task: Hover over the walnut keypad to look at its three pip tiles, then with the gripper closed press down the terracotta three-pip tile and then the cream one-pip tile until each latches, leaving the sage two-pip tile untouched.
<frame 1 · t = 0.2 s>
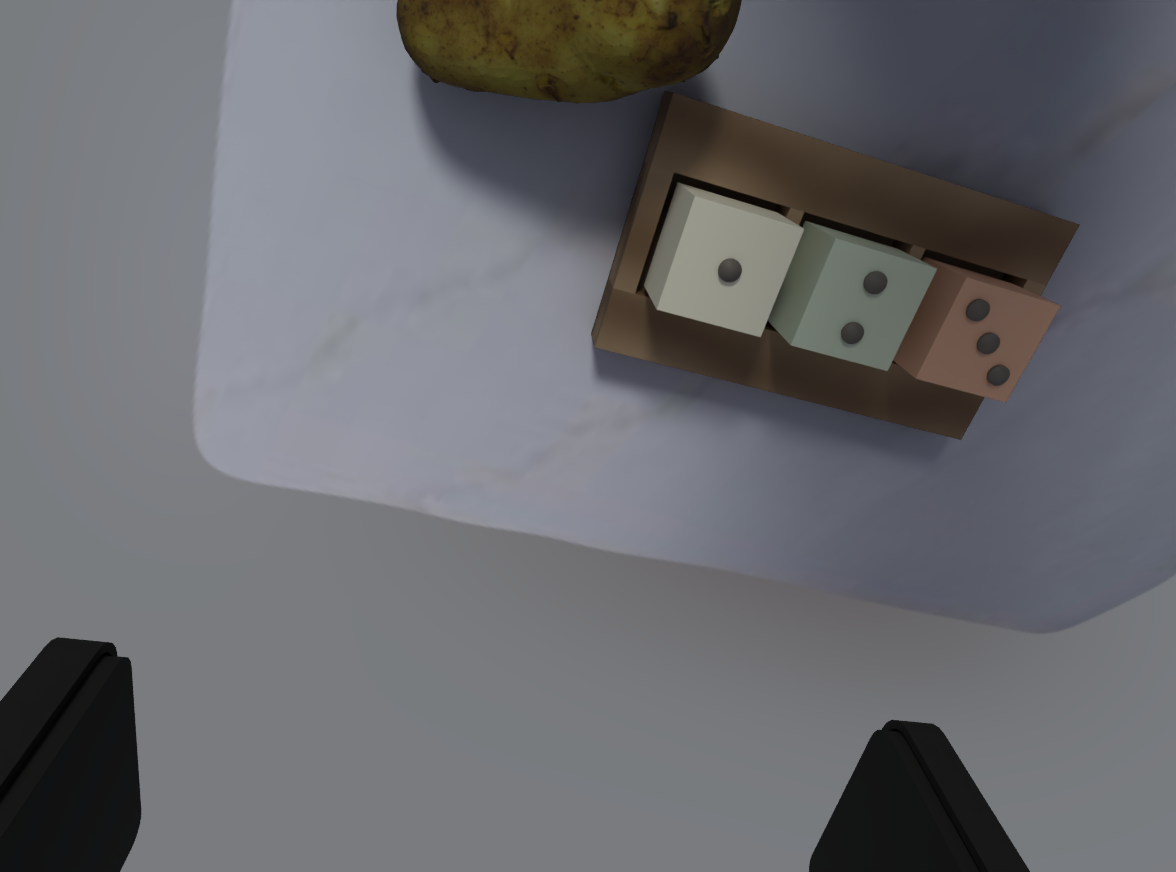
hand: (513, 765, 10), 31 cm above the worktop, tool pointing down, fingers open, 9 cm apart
one-pip tile: (719, 259, 35), point 4 cm above the worktop, slide at 0.0 cm
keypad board: (818, 275, 39), on the worktop
potato: (560, 4, 33), on the worktop
three-pip tile: (965, 329, 37), point 4 cm above the worktop, slide at 0.0 cm
two-pip tile: (846, 295, 36), point 4 cm above the worktop, slide at 0.0 cm
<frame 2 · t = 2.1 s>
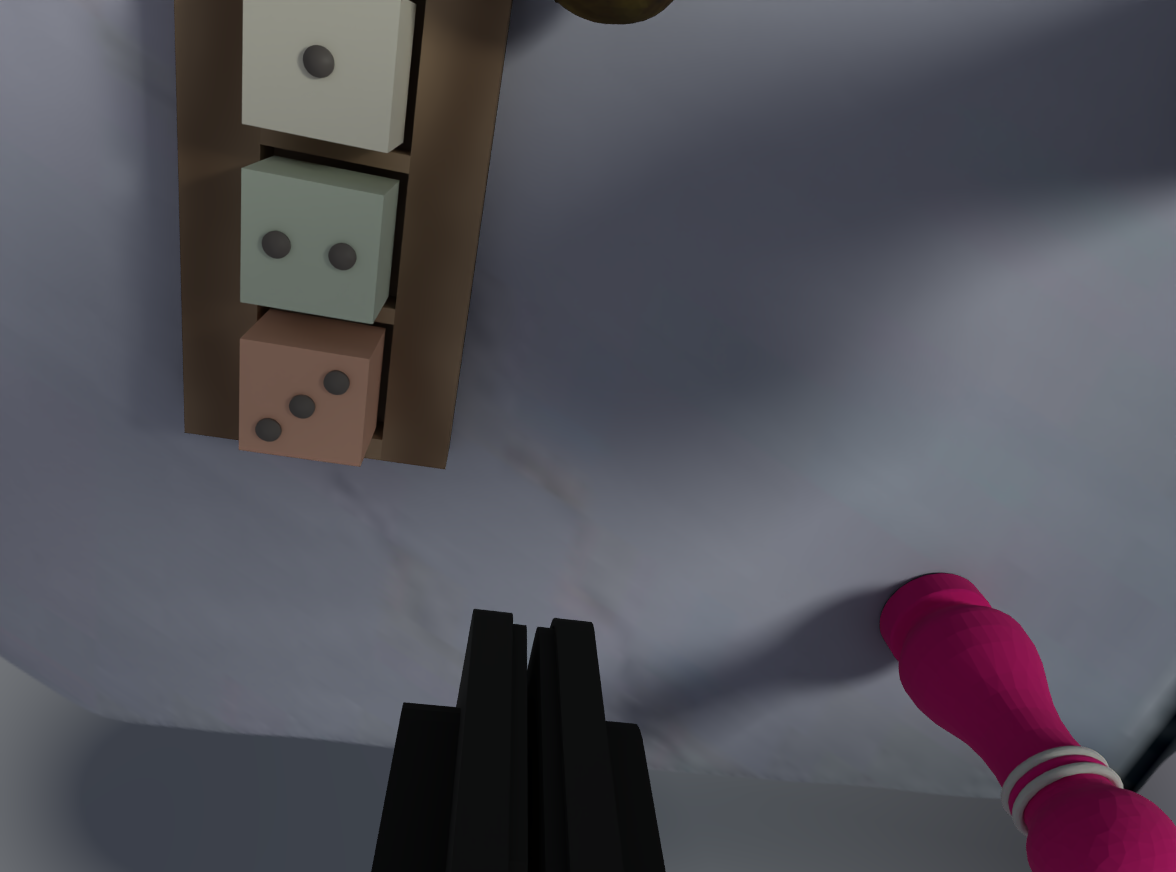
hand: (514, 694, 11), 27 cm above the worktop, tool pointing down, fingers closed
one-pip tile: (332, 61, 28), point 4 cm above the worktop, slide at 0.0 cm
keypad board: (342, 221, 34), on the worktop
three-pip tile: (314, 387, 33), point 4 cm above the worktop, slide at 0.0 cm
pepper mill: (927, 611, 47), on the worktop
two-pip tile: (322, 239, 30), point 4 cm above the worktop, slide at 0.0 cm
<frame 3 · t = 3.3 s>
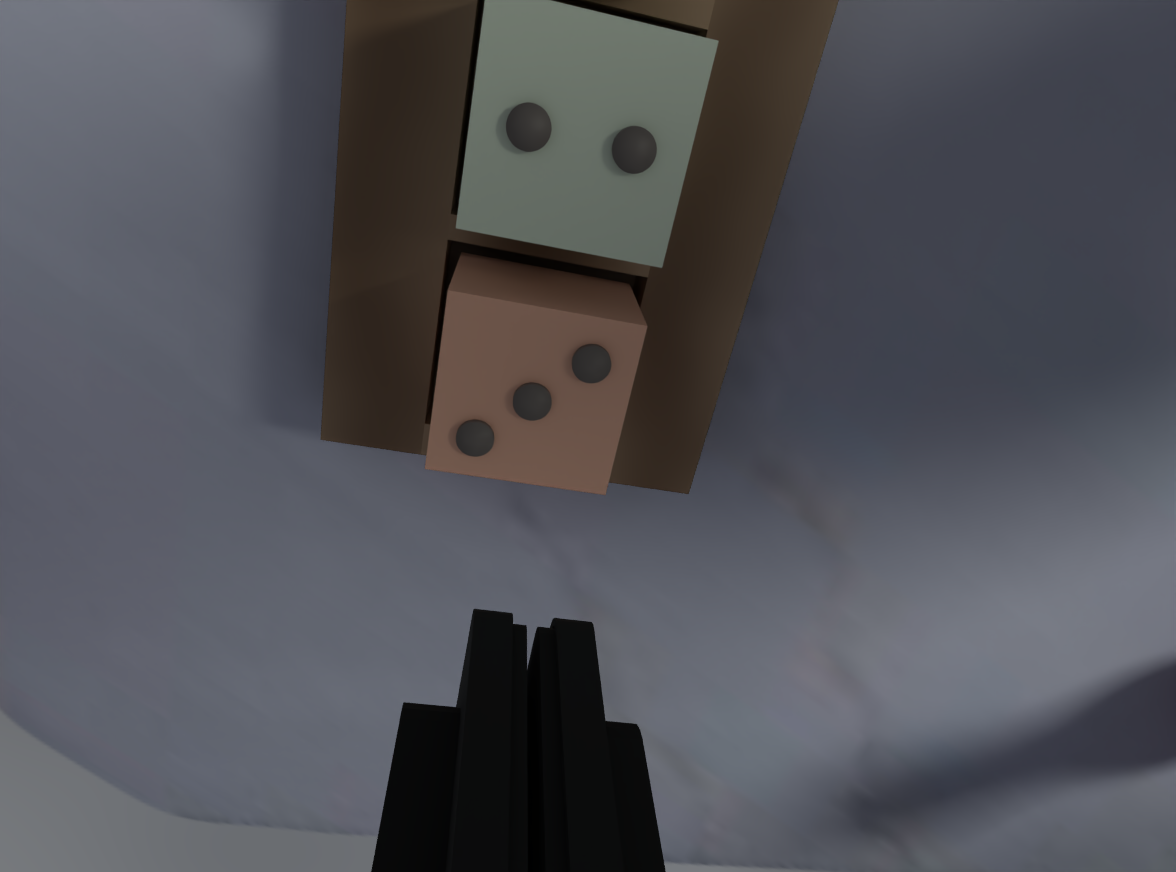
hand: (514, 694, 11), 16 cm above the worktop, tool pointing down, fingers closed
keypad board: (570, 119, 22), on the worktop
three-pip tile: (532, 372, 21), point 4 cm above the worktop, slide at 0.0 cm
two-pip tile: (577, 130, 19), point 4 cm above the worktop, slide at 0.0 cm
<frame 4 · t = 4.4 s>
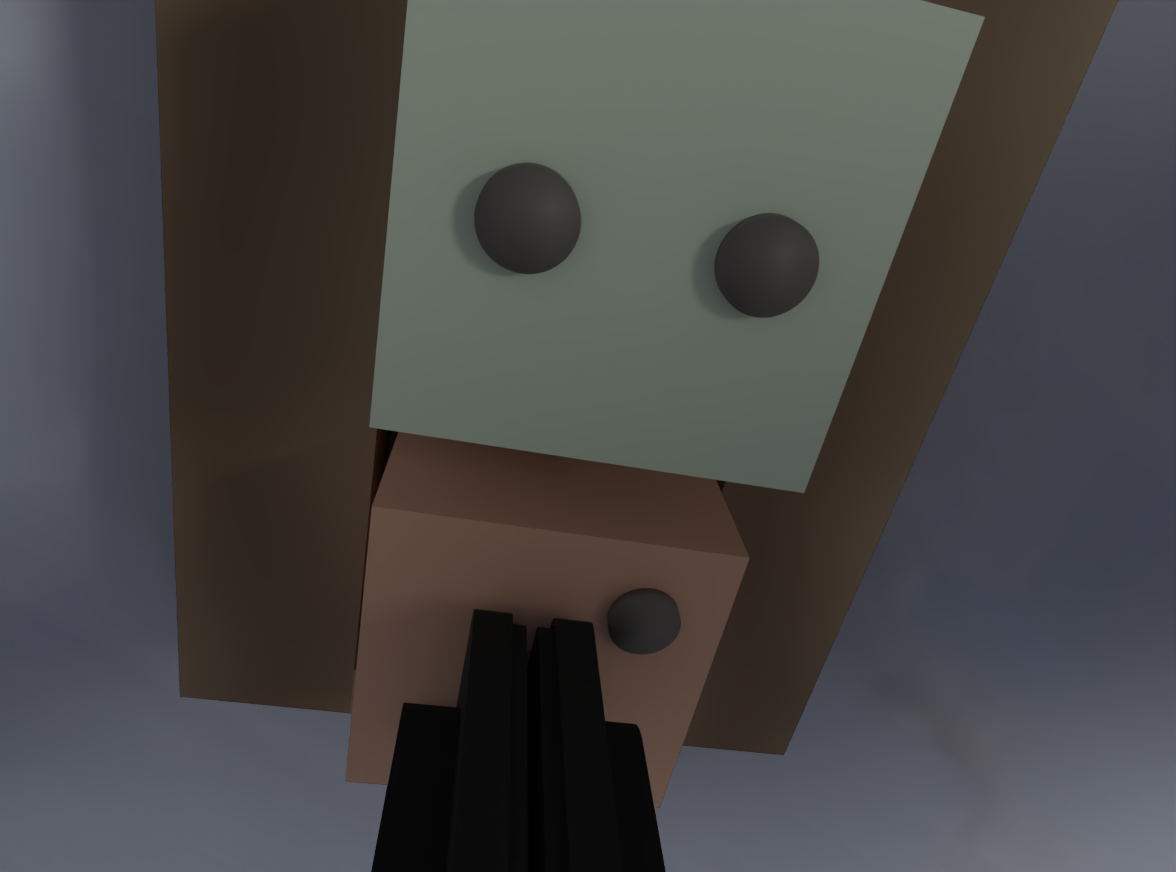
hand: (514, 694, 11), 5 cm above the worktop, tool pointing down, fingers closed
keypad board: (601, 166, 13), on the worktop
three-pip tile: (534, 593, 13), point 3 cm above the worktop, slide at 0.8 cm, touching gripper
two-pip tile: (627, 207, 9), point 4 cm above the worktop, slide at 0.0 cm
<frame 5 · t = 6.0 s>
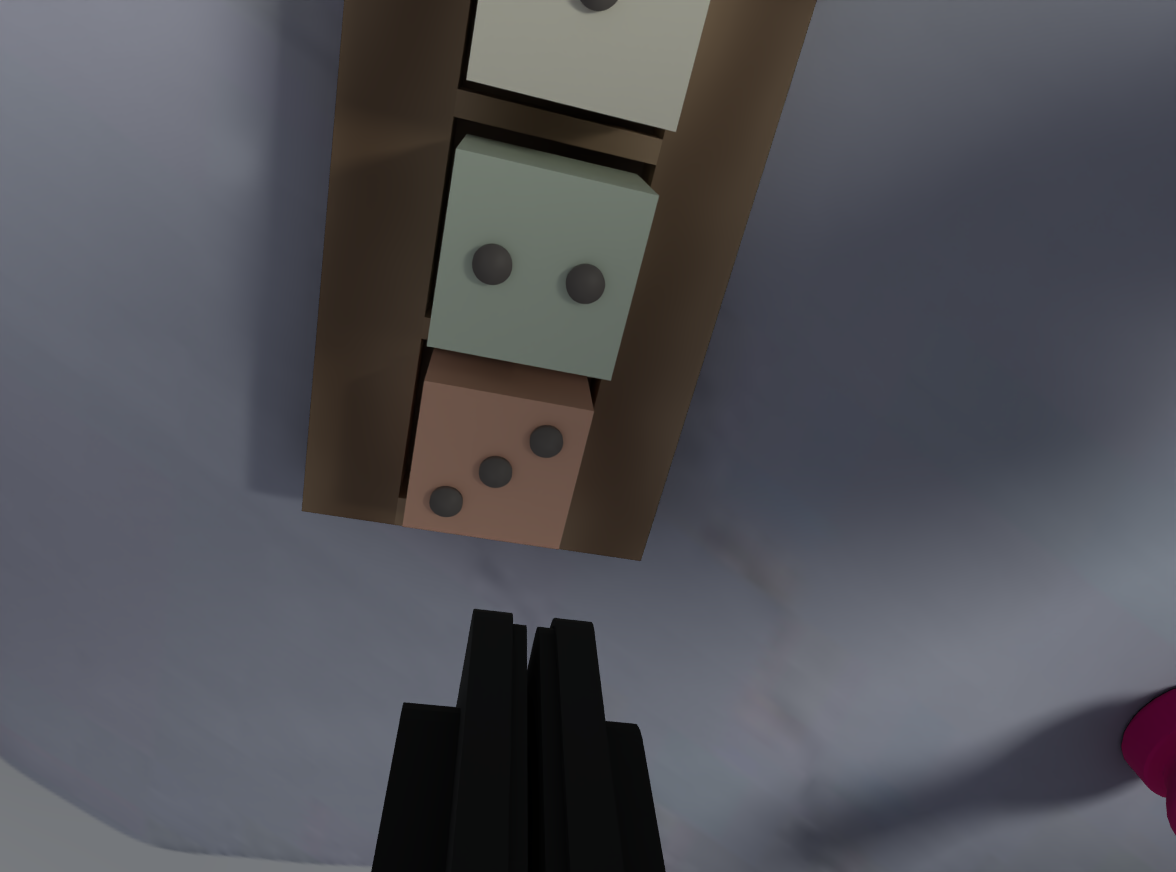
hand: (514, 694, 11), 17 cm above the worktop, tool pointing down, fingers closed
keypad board: (535, 228, 24), on the worktop
three-pip tile: (497, 442, 25), point 3 cm above the worktop, slide at 1.2 cm
two-pip tile: (537, 256, 21), point 4 cm above the worktop, slide at 0.0 cm
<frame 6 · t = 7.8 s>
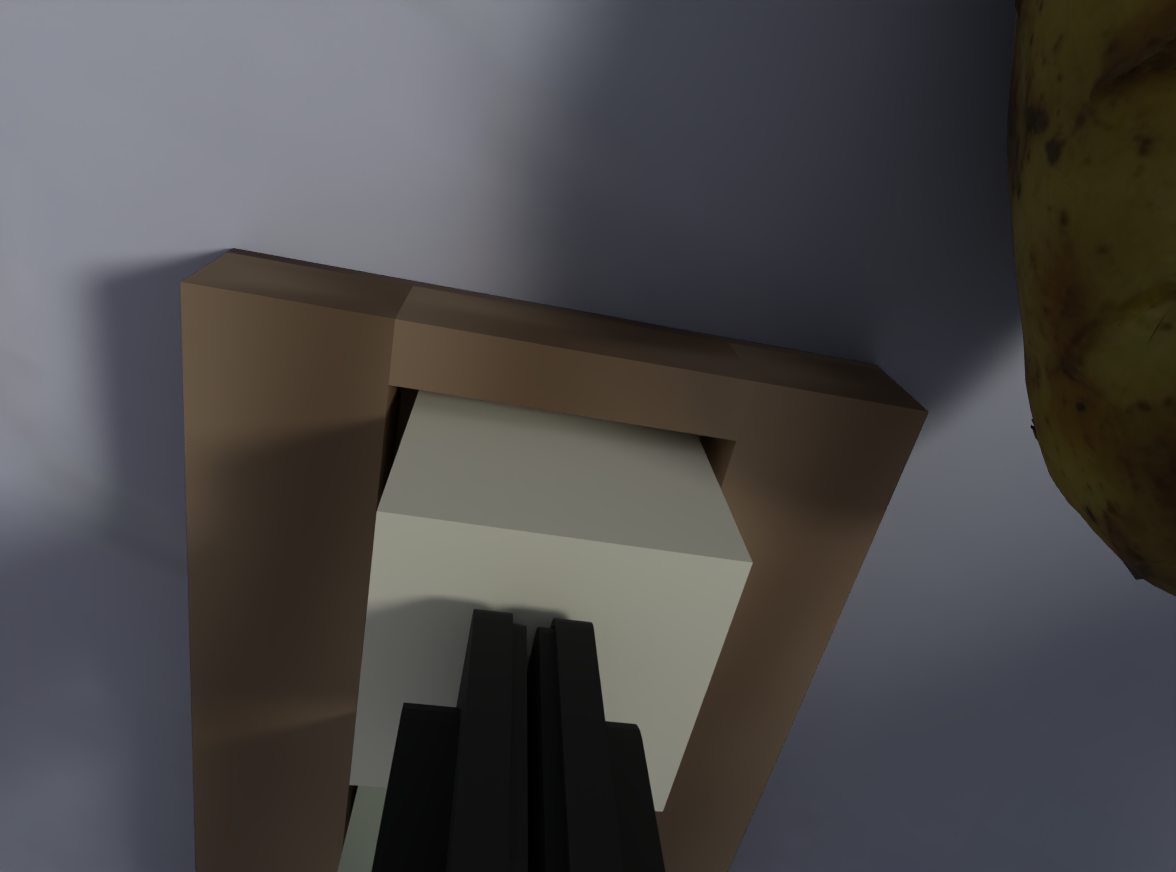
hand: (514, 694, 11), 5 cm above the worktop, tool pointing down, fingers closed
one-pip tile: (537, 597, 13), point 3 cm above the worktop, slide at 0.5 cm, touching gripper
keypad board: (490, 723, 18), on the worktop
potato: (1091, 81, 13), on the worktop
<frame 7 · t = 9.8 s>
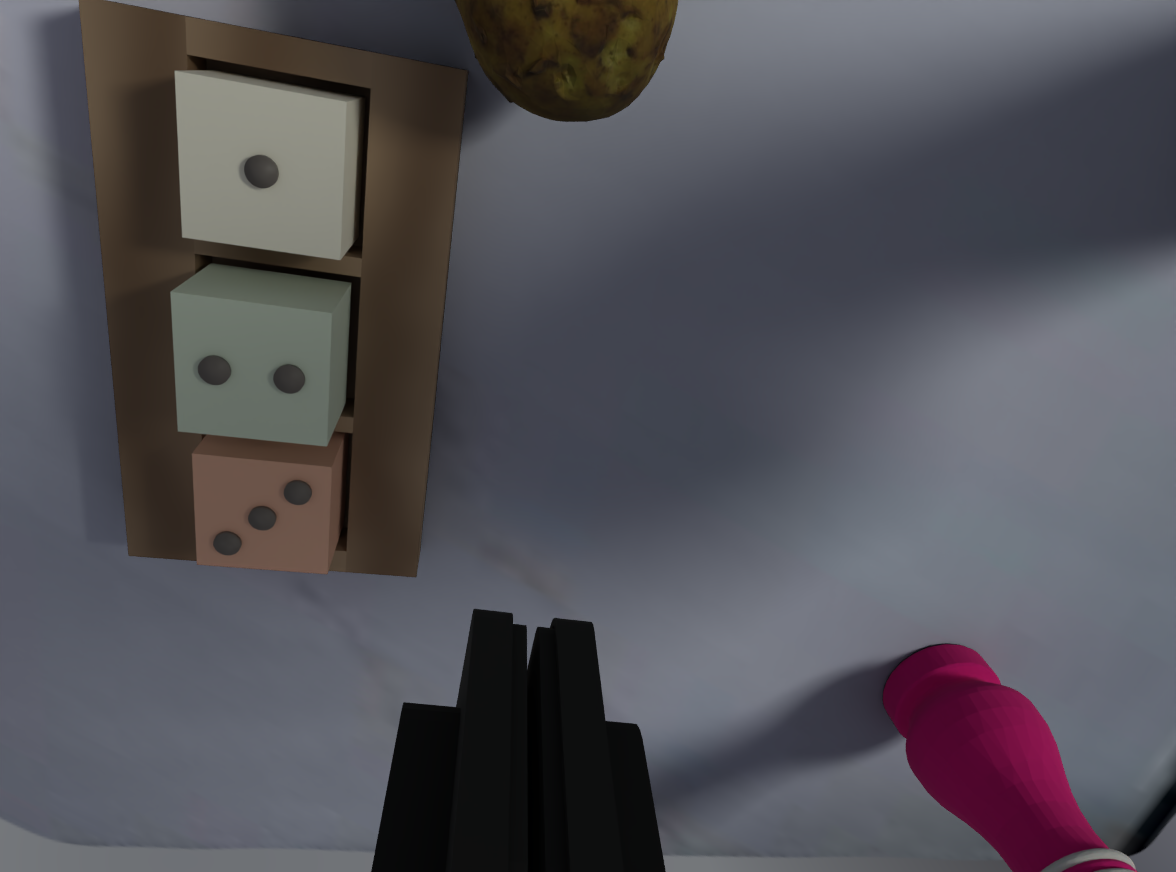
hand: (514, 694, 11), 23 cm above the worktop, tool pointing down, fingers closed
one-pip tile: (277, 164, 26), point 3 cm above the worktop, slide at 1.2 cm
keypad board: (292, 323, 31), on the worktop
three-pip tile: (275, 492, 31), point 3 cm above the worktop, slide at 1.2 cm
pepper mill: (931, 681, 45), on the worktop
two-pip tile: (267, 354, 28), point 4 cm above the worktop, slide at 0.0 cm
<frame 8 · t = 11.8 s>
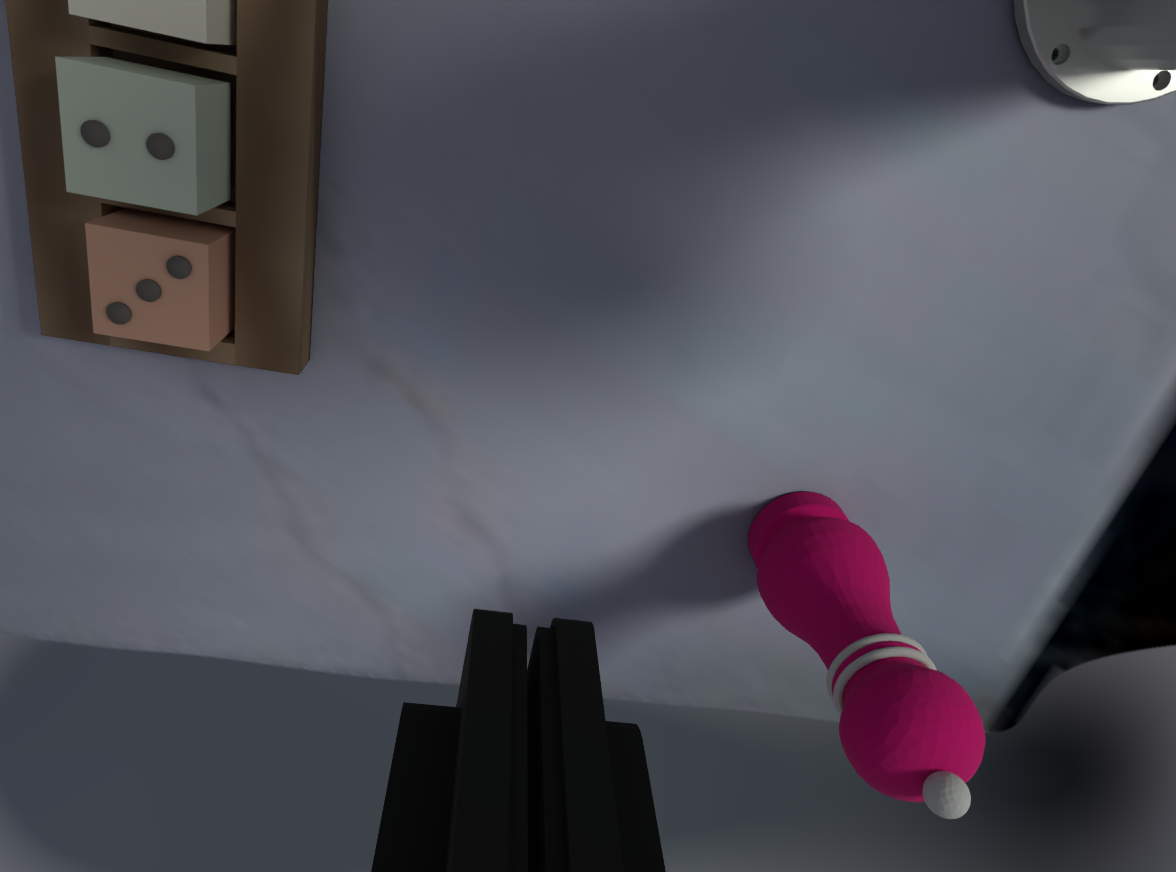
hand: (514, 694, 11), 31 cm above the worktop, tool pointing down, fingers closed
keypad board: (186, 128, 35), on the worktop
three-pip tile: (167, 278, 36), point 3 cm above the worktop, slide at 1.2 cm
pepper mill: (794, 531, 48), on the worktop
two-pip tile: (150, 135, 32), point 4 cm above the worktop, slide at 0.0 cm
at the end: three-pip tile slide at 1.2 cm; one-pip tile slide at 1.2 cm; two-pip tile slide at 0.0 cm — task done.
